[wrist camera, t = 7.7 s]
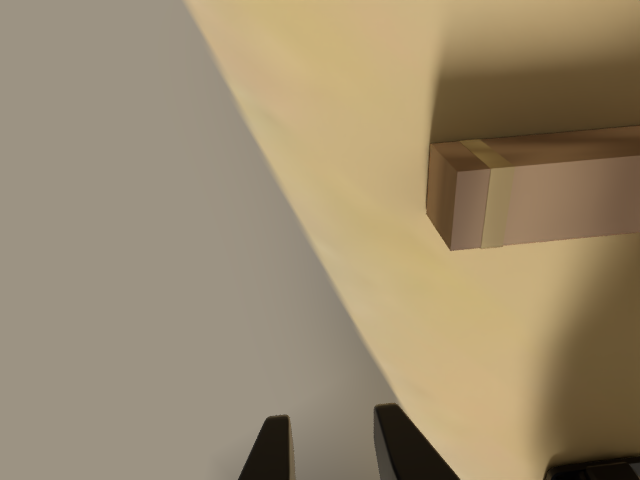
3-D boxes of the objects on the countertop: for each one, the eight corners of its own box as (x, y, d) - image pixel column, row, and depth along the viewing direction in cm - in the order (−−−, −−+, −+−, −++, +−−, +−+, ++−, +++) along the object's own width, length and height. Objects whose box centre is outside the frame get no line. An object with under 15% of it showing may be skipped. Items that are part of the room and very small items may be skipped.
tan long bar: (426, 214, 19) (450, 252, 17) (430, 143, 18) (457, 171, 15) (770, 182, 20) (846, 213, 17) (802, 110, 18) (891, 132, 16)
